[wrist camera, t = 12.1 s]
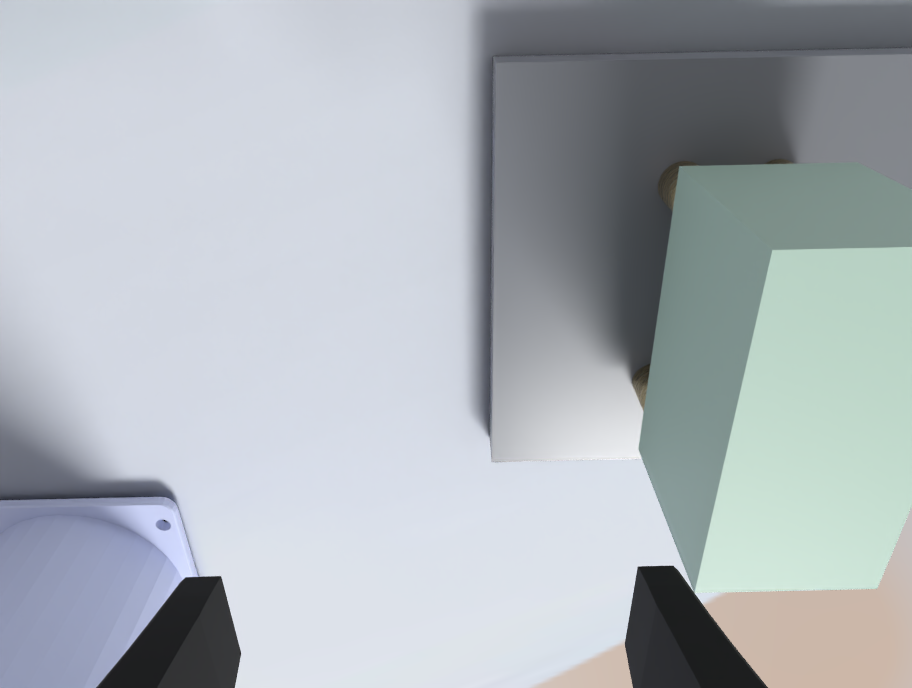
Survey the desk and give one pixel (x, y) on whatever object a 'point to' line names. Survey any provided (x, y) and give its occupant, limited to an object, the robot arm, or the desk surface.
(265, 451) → the desk surface
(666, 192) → the plate
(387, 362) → the desk surface
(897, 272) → the board block
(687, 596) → the robot arm
